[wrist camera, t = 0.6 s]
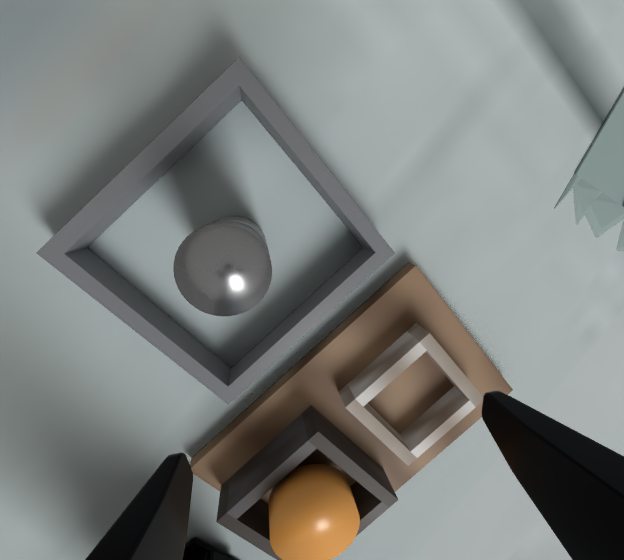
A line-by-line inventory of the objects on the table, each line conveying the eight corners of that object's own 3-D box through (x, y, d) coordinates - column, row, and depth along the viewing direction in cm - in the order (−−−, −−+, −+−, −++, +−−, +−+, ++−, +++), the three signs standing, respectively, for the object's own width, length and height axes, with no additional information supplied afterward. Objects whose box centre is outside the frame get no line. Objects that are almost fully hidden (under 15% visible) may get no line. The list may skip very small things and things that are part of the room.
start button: (306, 543, 25) (312, 578, 23) (250, 505, 24) (249, 539, 21) (365, 491, 25) (377, 522, 23) (313, 448, 23) (320, 477, 21)
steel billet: (235, 289, 23) (224, 333, 15) (189, 245, 21) (151, 269, 14) (279, 248, 22) (291, 272, 15) (235, 202, 21) (223, 202, 13)
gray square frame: (231, 384, 24) (228, 404, 22) (62, 246, 20) (36, 252, 17) (380, 248, 24) (395, 253, 21) (241, 75, 19) (239, 56, 17)
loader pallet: (316, 543, 30) (326, 596, 26) (191, 458, 25) (179, 506, 21) (502, 382, 29) (542, 411, 25) (408, 262, 24) (438, 274, 20)
